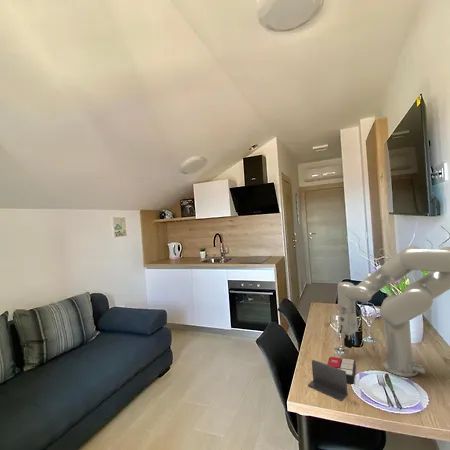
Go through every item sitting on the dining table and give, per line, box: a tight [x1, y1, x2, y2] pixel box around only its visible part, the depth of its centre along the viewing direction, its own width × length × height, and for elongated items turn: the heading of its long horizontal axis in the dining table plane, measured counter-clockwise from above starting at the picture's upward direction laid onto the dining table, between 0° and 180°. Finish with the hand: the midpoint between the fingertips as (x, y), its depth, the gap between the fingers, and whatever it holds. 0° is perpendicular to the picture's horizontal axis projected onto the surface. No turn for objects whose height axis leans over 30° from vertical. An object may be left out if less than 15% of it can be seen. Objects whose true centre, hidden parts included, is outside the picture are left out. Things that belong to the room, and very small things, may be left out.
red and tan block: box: [326, 356, 357, 385], centre depth 120 cm, size 11×4×15 cm
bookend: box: [307, 359, 349, 402], centre depth 108 cm, size 14×5×9 cm, turn 40°
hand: (348, 346), depth 131 cm, fingers closed
